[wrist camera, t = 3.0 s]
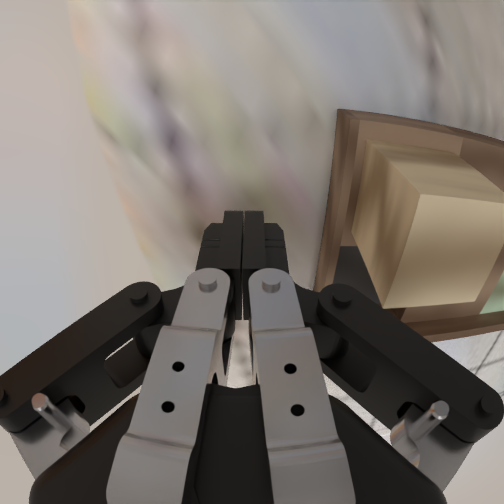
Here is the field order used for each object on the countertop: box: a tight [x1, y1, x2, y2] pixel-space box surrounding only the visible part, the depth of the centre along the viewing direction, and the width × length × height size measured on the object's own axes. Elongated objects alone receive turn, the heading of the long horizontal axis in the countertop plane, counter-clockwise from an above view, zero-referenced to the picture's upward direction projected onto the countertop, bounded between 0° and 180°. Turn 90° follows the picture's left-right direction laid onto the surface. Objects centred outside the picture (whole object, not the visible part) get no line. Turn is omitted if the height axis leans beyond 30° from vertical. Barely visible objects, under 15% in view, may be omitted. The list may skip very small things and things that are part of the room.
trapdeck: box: [314, 109, 504, 342], centre depth 18 cm, size 16×24×5 cm, turn 90°
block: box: [351, 140, 504, 309], centre depth 13 cm, size 6×6×6 cm
